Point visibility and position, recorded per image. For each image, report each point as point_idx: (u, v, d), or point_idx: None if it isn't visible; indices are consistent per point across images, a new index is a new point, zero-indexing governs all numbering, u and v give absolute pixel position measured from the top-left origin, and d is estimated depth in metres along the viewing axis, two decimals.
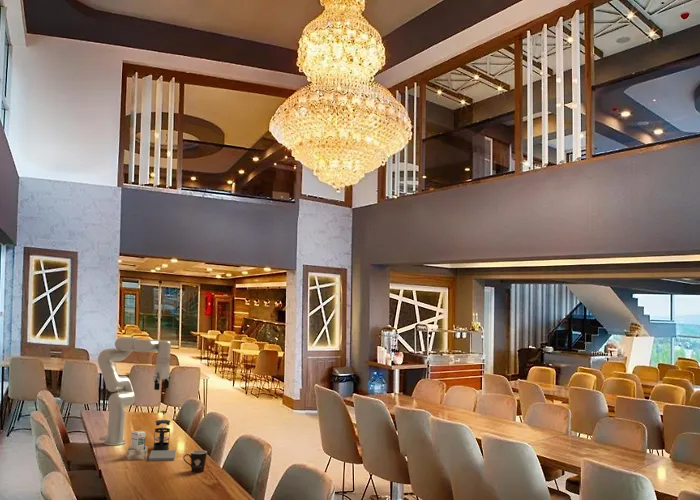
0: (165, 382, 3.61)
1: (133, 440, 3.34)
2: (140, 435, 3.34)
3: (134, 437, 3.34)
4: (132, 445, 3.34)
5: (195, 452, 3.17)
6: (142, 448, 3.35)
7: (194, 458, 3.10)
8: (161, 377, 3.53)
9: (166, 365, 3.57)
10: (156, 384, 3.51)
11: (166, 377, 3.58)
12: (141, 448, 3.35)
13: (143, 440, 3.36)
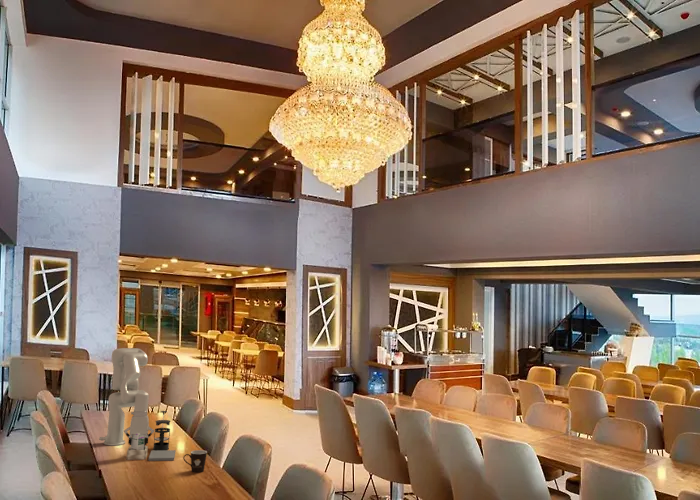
0: None
1: (133, 440, 3.34)
2: (140, 435, 3.34)
3: (134, 437, 3.34)
4: (132, 445, 3.34)
5: (195, 452, 3.17)
6: (142, 448, 3.35)
7: (194, 458, 3.10)
8: None
9: None
10: None
11: None
12: (141, 448, 3.35)
13: (143, 440, 3.36)
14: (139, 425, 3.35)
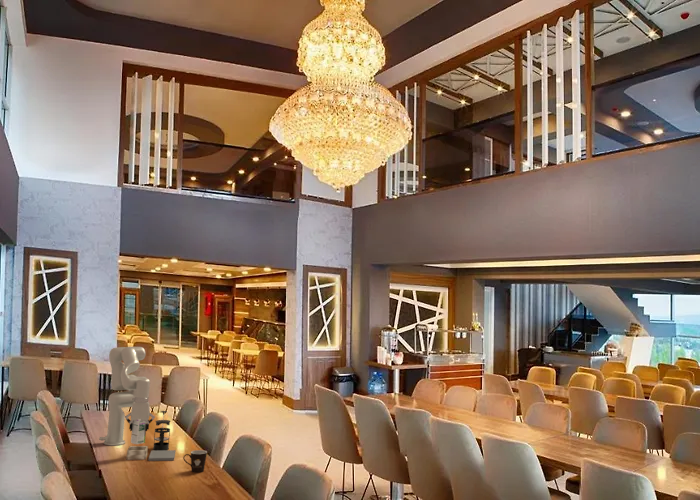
0: None
1: (134, 426, 3.36)
2: (141, 421, 3.36)
3: (135, 422, 3.36)
4: (133, 431, 3.35)
5: (195, 452, 3.17)
6: (143, 433, 3.36)
7: (194, 458, 3.10)
8: None
9: None
10: (148, 424, 3.39)
11: None
12: (142, 434, 3.36)
13: (144, 426, 3.37)
14: (140, 411, 3.36)
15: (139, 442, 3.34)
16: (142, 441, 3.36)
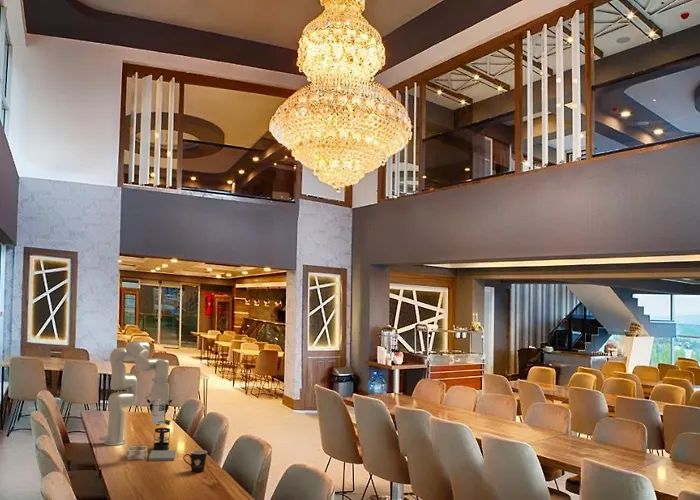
0: None
1: (154, 406, 3.39)
2: (161, 402, 3.39)
3: (154, 403, 3.39)
4: (153, 411, 3.39)
5: (195, 452, 3.17)
6: (163, 414, 3.39)
7: (194, 458, 3.10)
8: None
9: None
10: (168, 405, 3.42)
11: None
12: (162, 414, 3.39)
13: (164, 406, 3.40)
14: (160, 391, 3.39)
15: (159, 422, 3.37)
16: (162, 421, 3.39)
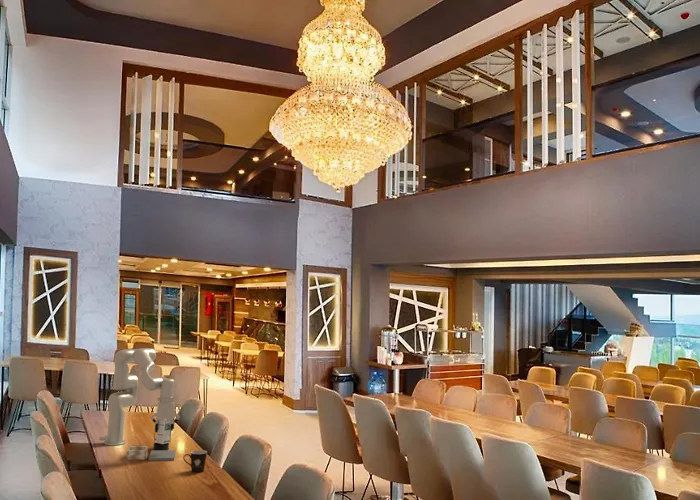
0: (157, 424, 3.39)
1: (160, 426, 3.39)
2: (167, 421, 3.39)
3: (160, 422, 3.39)
4: (159, 431, 3.38)
5: (195, 452, 3.17)
6: (168, 433, 3.39)
7: (194, 458, 3.10)
8: None
9: None
10: None
11: None
12: (168, 433, 3.39)
13: (169, 426, 3.40)
14: (165, 411, 3.39)
15: (165, 442, 3.37)
16: (168, 440, 3.39)
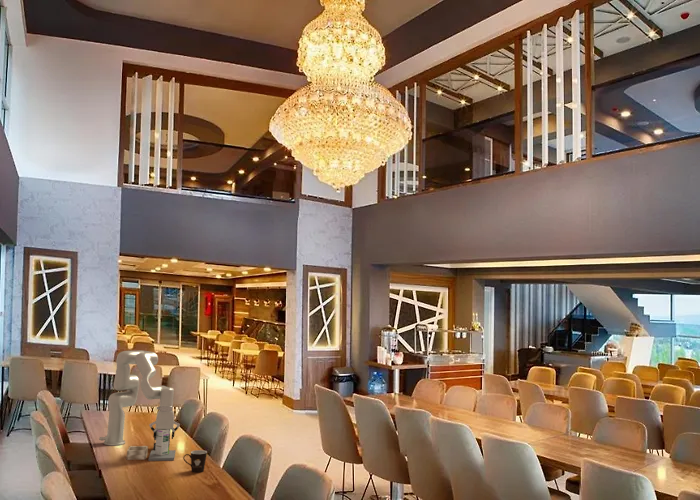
0: None
1: (158, 437, 3.38)
2: (165, 432, 3.38)
3: (158, 434, 3.38)
4: (157, 442, 3.38)
5: (195, 452, 3.17)
6: (167, 445, 3.39)
7: (194, 458, 3.10)
8: None
9: None
10: (174, 432, 3.42)
11: None
12: (166, 445, 3.38)
13: (168, 437, 3.39)
14: (165, 420, 3.38)
15: (163, 453, 3.36)
16: (166, 452, 3.38)
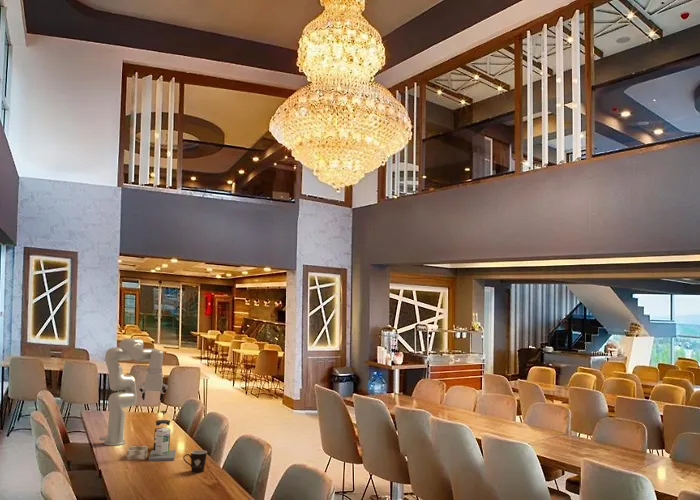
0: (144, 394, 3.44)
1: (158, 437, 3.38)
2: (165, 432, 3.38)
3: (158, 434, 3.38)
4: (157, 442, 3.38)
5: (195, 452, 3.17)
6: (167, 445, 3.39)
7: (194, 458, 3.10)
8: None
9: None
10: (162, 394, 3.47)
11: None
12: (166, 445, 3.38)
13: (168, 437, 3.39)
14: (153, 381, 3.44)
15: (163, 453, 3.36)
16: (166, 452, 3.38)
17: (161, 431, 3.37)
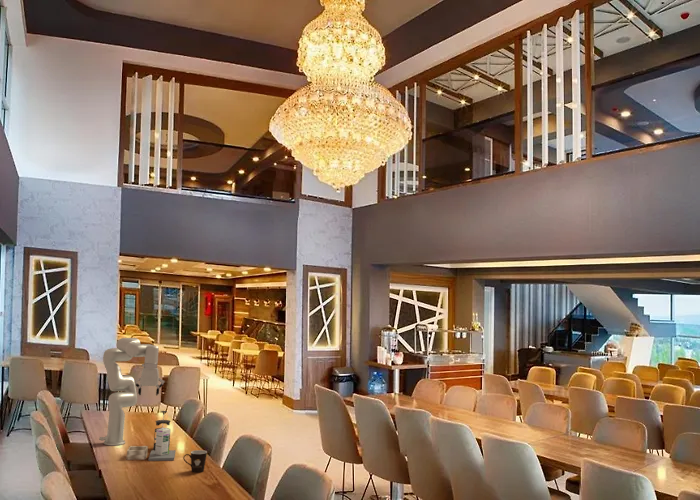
0: (140, 389, 3.45)
1: (158, 437, 3.38)
2: (165, 432, 3.38)
3: (158, 434, 3.38)
4: (157, 442, 3.38)
5: (195, 452, 3.17)
6: (167, 445, 3.39)
7: (194, 458, 3.10)
8: None
9: None
10: None
11: None
12: (166, 445, 3.38)
13: (168, 437, 3.39)
14: (149, 376, 3.45)
15: (163, 453, 3.36)
16: (166, 452, 3.38)
17: (161, 431, 3.37)
